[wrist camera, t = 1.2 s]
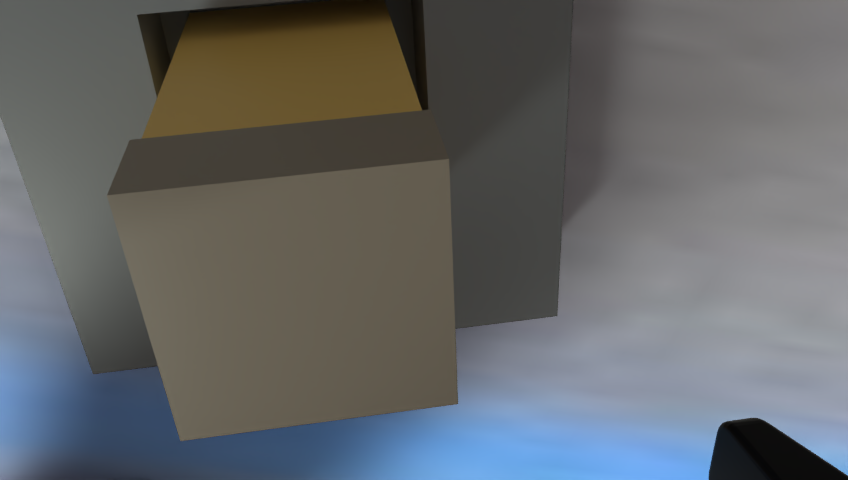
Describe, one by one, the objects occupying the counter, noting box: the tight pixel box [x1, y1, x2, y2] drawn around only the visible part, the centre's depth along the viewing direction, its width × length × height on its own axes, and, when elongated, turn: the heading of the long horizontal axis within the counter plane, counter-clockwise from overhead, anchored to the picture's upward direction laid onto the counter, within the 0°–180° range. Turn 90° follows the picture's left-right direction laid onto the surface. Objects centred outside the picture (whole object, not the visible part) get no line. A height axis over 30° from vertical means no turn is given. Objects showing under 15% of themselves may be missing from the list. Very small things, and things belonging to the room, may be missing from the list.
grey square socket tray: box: [0, 0, 573, 374], centre depth 17 cm, size 11×11×2 cm
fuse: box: [107, 0, 458, 441], centre depth 14 cm, size 4×4×8 cm
